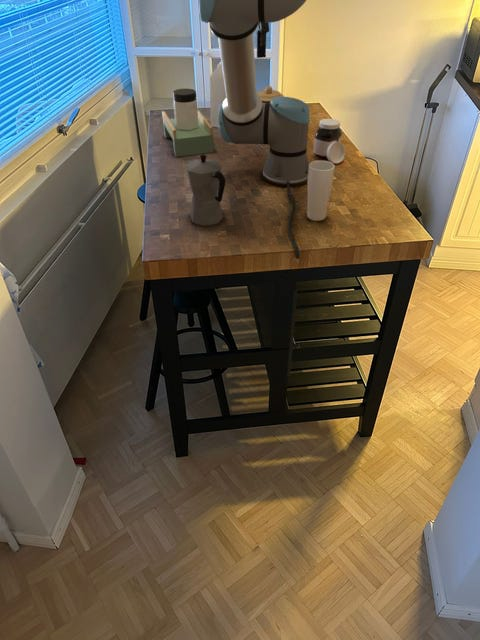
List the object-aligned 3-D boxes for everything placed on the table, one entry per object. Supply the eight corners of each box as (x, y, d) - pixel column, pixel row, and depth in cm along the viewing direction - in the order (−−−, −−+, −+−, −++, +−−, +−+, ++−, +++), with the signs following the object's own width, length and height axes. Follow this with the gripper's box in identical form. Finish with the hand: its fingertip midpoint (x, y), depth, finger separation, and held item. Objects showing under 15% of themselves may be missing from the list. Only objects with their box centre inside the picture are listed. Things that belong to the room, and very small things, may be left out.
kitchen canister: (274, 143, 176) (276, 93, 164) (244, 137, 181) (244, 88, 170) (290, 133, 184) (292, 84, 173) (261, 127, 189) (262, 79, 178)
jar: (184, 132, 168) (181, 96, 160) (170, 127, 172) (166, 91, 165) (203, 126, 173) (201, 91, 165) (189, 121, 177) (186, 86, 169)
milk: (235, 130, 188) (234, 56, 171) (210, 126, 191) (206, 54, 174) (248, 121, 196) (248, 50, 179) (223, 117, 200) (221, 47, 183)
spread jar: (323, 149, 171) (326, 115, 164) (351, 156, 166) (356, 121, 159) (306, 160, 164) (309, 125, 156) (336, 167, 159) (340, 132, 151)
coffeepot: (179, 214, 134) (173, 152, 123) (206, 204, 139) (202, 143, 127) (211, 236, 125) (208, 170, 114) (239, 224, 130) (238, 160, 118)
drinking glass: (311, 225, 129) (317, 172, 119) (299, 214, 134) (303, 162, 124) (333, 220, 131) (340, 167, 121) (320, 209, 136) (326, 158, 126)
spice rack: (213, 152, 170) (212, 125, 164) (175, 156, 167) (173, 130, 161) (199, 132, 186) (198, 107, 180) (164, 136, 183) (161, 111, 177)
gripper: (282, -26, 131) (278, 60, 145) (253, -32, 150) (253, 44, 163) (256, -24, 130) (255, 62, 144) (231, -31, 148) (232, 46, 162)
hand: (254, 53), depth 153 cm, fingers open, 13 cm apart
